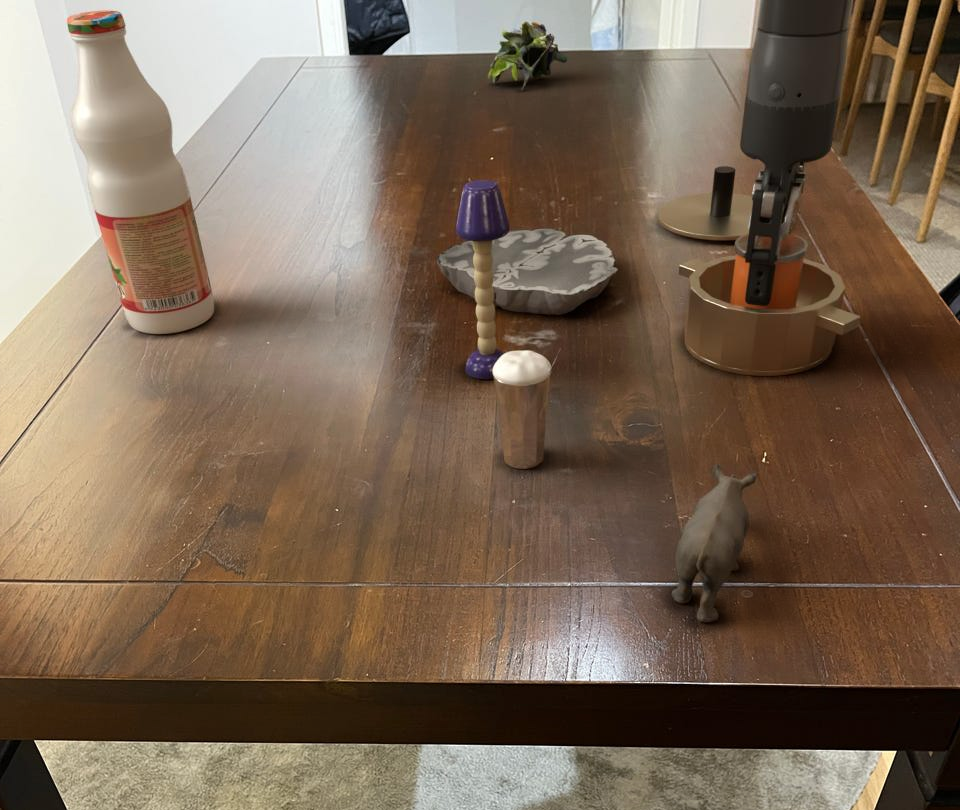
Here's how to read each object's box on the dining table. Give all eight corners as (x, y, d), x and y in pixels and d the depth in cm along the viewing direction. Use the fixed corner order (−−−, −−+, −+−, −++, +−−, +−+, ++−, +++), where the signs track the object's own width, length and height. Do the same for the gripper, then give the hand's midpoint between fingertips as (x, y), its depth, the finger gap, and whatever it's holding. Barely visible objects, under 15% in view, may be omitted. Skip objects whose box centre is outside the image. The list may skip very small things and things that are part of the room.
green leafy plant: (536, 113, 181) (576, 49, 174) (525, 117, 172) (568, 50, 165) (485, 72, 179) (524, 6, 173) (472, 74, 170) (512, 4, 164)
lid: (713, 193, 129) (718, 142, 125) (808, 222, 120) (817, 167, 116) (631, 223, 122) (634, 170, 118) (725, 255, 114) (732, 199, 109)
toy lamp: (458, 361, 97) (446, 180, 86) (504, 353, 98) (498, 172, 87) (473, 383, 94) (462, 197, 82) (520, 374, 94) (516, 188, 83)
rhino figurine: (759, 515, 76) (771, 445, 72) (722, 629, 66) (734, 555, 62) (705, 506, 77) (713, 436, 73) (661, 616, 68) (668, 543, 64)
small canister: (753, 317, 100) (766, 225, 94) (806, 337, 96) (823, 243, 90) (709, 337, 97) (720, 243, 91) (762, 359, 93) (777, 262, 87)
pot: (727, 293, 106) (734, 235, 102) (886, 352, 94) (901, 289, 90) (634, 333, 100) (638, 273, 96) (792, 401, 88) (803, 337, 84)
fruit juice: (181, 341, 103) (100, 28, 85) (109, 329, 106) (15, 24, 88) (233, 305, 110) (169, 6, 91) (163, 294, 113) (87, 3, 94)
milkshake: (552, 478, 81) (552, 362, 74) (489, 469, 82) (483, 355, 76) (567, 449, 84) (568, 336, 77) (506, 441, 85) (502, 329, 79)
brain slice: (649, 273, 111) (651, 246, 109) (571, 333, 101) (571, 304, 99) (500, 243, 120) (500, 217, 118) (414, 295, 109) (412, 268, 107)
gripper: (829, 117, 76) (795, 322, 87) (850, 71, 86) (816, 261, 97) (730, 111, 79) (708, 313, 90) (761, 68, 89) (738, 254, 99)
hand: (764, 286), depth 93 cm, fingers open, 7 cm apart
